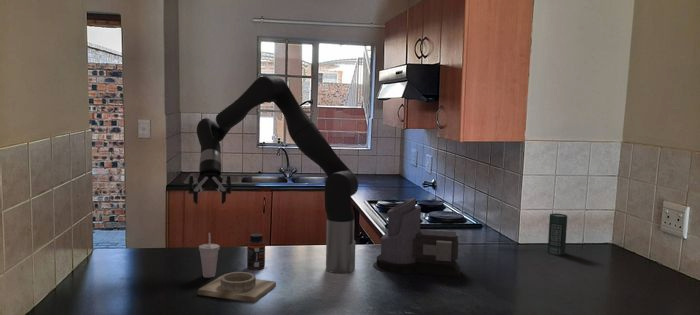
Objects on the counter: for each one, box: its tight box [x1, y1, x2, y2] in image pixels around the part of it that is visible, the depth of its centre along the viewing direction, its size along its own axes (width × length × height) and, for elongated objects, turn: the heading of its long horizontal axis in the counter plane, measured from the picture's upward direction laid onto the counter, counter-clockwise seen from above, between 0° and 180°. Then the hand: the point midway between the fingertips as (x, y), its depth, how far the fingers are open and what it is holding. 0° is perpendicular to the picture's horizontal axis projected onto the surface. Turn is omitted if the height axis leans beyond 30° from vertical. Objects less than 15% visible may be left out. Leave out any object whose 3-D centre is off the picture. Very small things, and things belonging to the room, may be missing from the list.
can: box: [547, 213, 568, 256], centre depth 206 cm, size 6×6×15 cm
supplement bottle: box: [246, 233, 266, 271], centre depth 178 cm, size 6×6×11 cm
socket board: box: [197, 271, 277, 303], centre depth 156 cm, size 18×14×4 cm
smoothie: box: [198, 232, 220, 279], centre depth 169 cm, size 6×6×14 cm
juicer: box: [372, 197, 461, 278], centre depth 182 cm, size 30×16×24 cm, turn 78°
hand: (209, 202), depth 179 cm, fingers open, 8 cm apart
